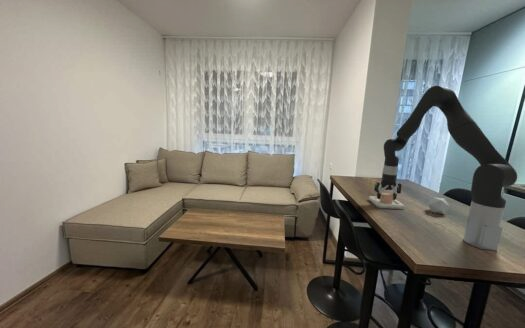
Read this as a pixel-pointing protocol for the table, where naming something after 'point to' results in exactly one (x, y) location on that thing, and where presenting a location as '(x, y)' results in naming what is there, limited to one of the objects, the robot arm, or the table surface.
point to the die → (438, 205)
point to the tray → (379, 204)
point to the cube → (386, 198)
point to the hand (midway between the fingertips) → (386, 199)
